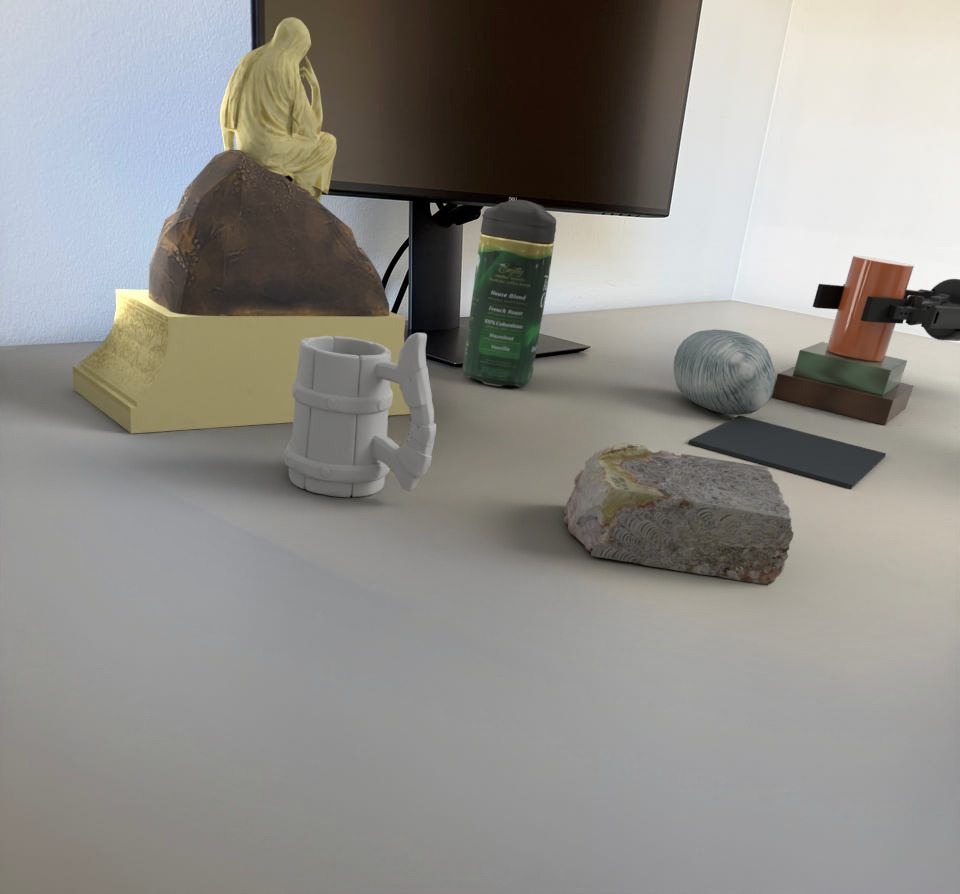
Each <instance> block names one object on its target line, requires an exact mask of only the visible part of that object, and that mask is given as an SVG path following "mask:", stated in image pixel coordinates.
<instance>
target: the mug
mask: <svg viewBox="0 0 960 894" xmlns="http://www.w3.org/2000/svg"><path fill="white" fill-rule="evenodd" d="M427 338H428V335H427V333H425V332H415V333H413V334H410V335H409V336H408V337H407V339H406V340H405V341H404V344H403V346H402V348H401V350H400V353H399V358H398V365H397V364H395V363H392V362H391V351H390V350H389V349H388V348H386V347H385V346H383V345H380V344H378V343H373V342H370V341H366V340H361V339H356V338H350V337H342V336H334V337H333V338H332V337H331V336H321V337H312V338H304V339H303V340H301V341H300V347H299V358H298V370H297V378H296V379H295V380H294V381H293V385H292V396H293V397H294V398H295V405H294V416H293V422H292V428H291V440H290V442H289V443H288V444H287V445H286V447H285V453H284V461H285V464H286V466H288V477H289V480H290V481H291V482H290V483H292V484H293V485H294V486H296V487H298V488H299V489H302V490H306V491H307V492H311V493H315V494H318V495H322V496H323V495H324V496H329V497H338V498H350V497H351V496H352V498H356V497H366V496H372V495H375V494H378V493H379V492H380V491H381V490H383V488H384V486H385V479H386V476H387V475H388V474H389V472H390V471H391V472H392V473H393V475H394V476H395V478H396V480H397V482H398V483H399V485H400V487H401V489H402V490H404V491H406V492H410V491H412V490H414V489H415V488H416V487H417V486H418V483H419V481H420V480H421V478H422V476H425V475H426V474H427V473H428V471H429V468H430V466H431V463H432V460H433V456H432V454H433V448H434V445H435V444H434V443H435V439H436V433H437V424H436V422H435V409H434V404H433V400H432V399H433V394H432V388H431V383H430V378H429V377H430V376H429V368H428V366H427V356H426V355H427V353H426V347H427V340H428V339H427ZM390 381H392V382H395V383H398V384H400V386H399V388H400V390H401V392H402V395H403V398H404V401H405V403H406V405H407V406H408V407H409V411H410V414H409V415H410V418H411V420H410V421H409V431H408V439H407V440H405V441H404V443H403V444H402V445H401V446H400V445H398V444H397V443H396V442H395V441H394V440H393V439H392V438H390V437H389V436H388V426H389V425H388V424H389V420H388V419H389V416H388V409H389V408H390V406H391V405H392V398H393V392H392V390H391V388H390Z"/></svg>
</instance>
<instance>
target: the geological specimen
mask: <svg viewBox="0 0 960 894" xmlns="http://www.w3.org/2000/svg"><path fill="white" fill-rule="evenodd" d="M584 463H585V465H584V467H583V468H582V469H580V471H579V472H578V473H577V475H576V476H575V477H574V480H573V481H574V487H573V490H572V493H571V495H570V496H569V497H568V500H567V502H566V504H565V505H564V507H563V508H564V511H563V513H564V514H565V516H564V519H563V522H564V523H565V524H566V525H567V529H568V532H569V534H571V535H572V536H574V537H575V538H576V539H577V540H578V541H579V542H580V543H581V544H583V546H584V547H585V549H586V550H587V551H588V552H590V556H591V557H595V558H601V559H607V560H608V559H609V560H614V561H619V562H625V563H626V562H627V563H633V564H639V565H643V566H648V567H653V568H658V569H659V568H660V569H666V570H673V571H679V572H684V573H691V574H697V575H704V576H713V577H719V578H723V579H730V580H735V581H740V582H745V583H747V582H748V583H753V584H759V585H771V584H773V583H775V581H776V579H777V578H778V577H779V576H780V575H781V574H782V573H783V571H784V569H785V567H786V560H788V558H789V554H788V551H789V550H790V544H791V542H792V540H793V538H794V535H795V534H794V532H793V530H792V529H793V527H792V518H791V516H790V514H791V513H790V510H791V509H790V507H789V506H788V505H787V504H786V503H785V499H784V495H783V493H782V491H781V488H780V486H779V484H778V483H776V482H775V481H774V476H773V475H772V473H771V471H770V469H769V468H768V467H769V466H764V465H756V464H750V463H744V462H738V461H731V460H723V459H719V458H711V457H705V456H698V455H692V454H687V453H681V455H678V454H675V453H673V452H670V451H669V450H663V449H661V450H659V451H656V452H653V451H651V450H650V449H649V448H648V447H646V445H644V444H641V443H630V442H621V443H619V444H615V445H610V446H607V447H603V448H601V449H599V450H597V451H595V452H594V453H593V454H592V455H591V456H589V457H588V459H586V460H585V461H584Z"/></svg>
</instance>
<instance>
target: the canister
mask: <svg viewBox="0 0 960 894" xmlns="http://www.w3.org/2000/svg"><path fill="white" fill-rule="evenodd" d="M914 267H915V266H914V264H913V265H912V264H910V263H906V262H900V261H895V260H891V259H885V258H878V257H872V256H864V255H853V256H852V259H851V262H850V266H849V269H848V273H847V276H846V281H845V283H844V284H845V286H844V290H843V293H842V297H841V300H840V303H839V307H838V309H836V310H837V311H836V314H835V317H834V321H833V323H832V324H833V325H832V328H831V331H830V335H829V338H828V342H827V343H828V345H827V348H826V349H827V350H828V351H830V352H832V353H835V354H838V355H842V356H846V357H851V358H856V359H861V360H869V361H883V360H884V358H885V356H887V352H888V348H889V347H890V343H891V339H892V336H893V333H894V330H895V328H896V327H895V326H896V324H897V323H882V322H865V321H862V320H861V317H862V314H863V310H864V307H865V304H866V300H867V297H868V296H872V297H885V298H898V299H904V296H905V292H906V289H907V290H908V286H909V282H910V279H911V277H912V273H913V272H914V271H913V270H914Z"/></svg>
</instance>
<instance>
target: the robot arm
mask: <svg viewBox="0 0 960 894" xmlns="http://www.w3.org/2000/svg"><path fill="white" fill-rule="evenodd" d="M844 286H845V283H844V284H842V285H838V284H825V283H818V285H817V289H816V293H815V296H814V299H813V303H812V308H815V309H824V310H838V307H839V303H840V300H841V297H842V293H843V290H844ZM861 320H862V321H865V322H882V323H896V324H899V325H900V324H901V325H903V323H905V324H906V325H908V326H916V325H917V326H918V325H920V327H922V328H923V329H924V332H926V334H927V335H929V336H930V337H931V338H933V339H935V340H937V341H938V340H939V341H949V342H951V341H952V342H960V278H948V279H945V280H943V281H941V282H938V283H937V284H935V286H933V287H932V288H931V289H930V290H929V289H922V288H920V289H918V290H913V289H908V288H907V289H906V292H905V296H904V299H898V298H885V297H872V296H868V297H867V300H866V304H865V307H864V310H863V314H862V317H861Z"/></svg>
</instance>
